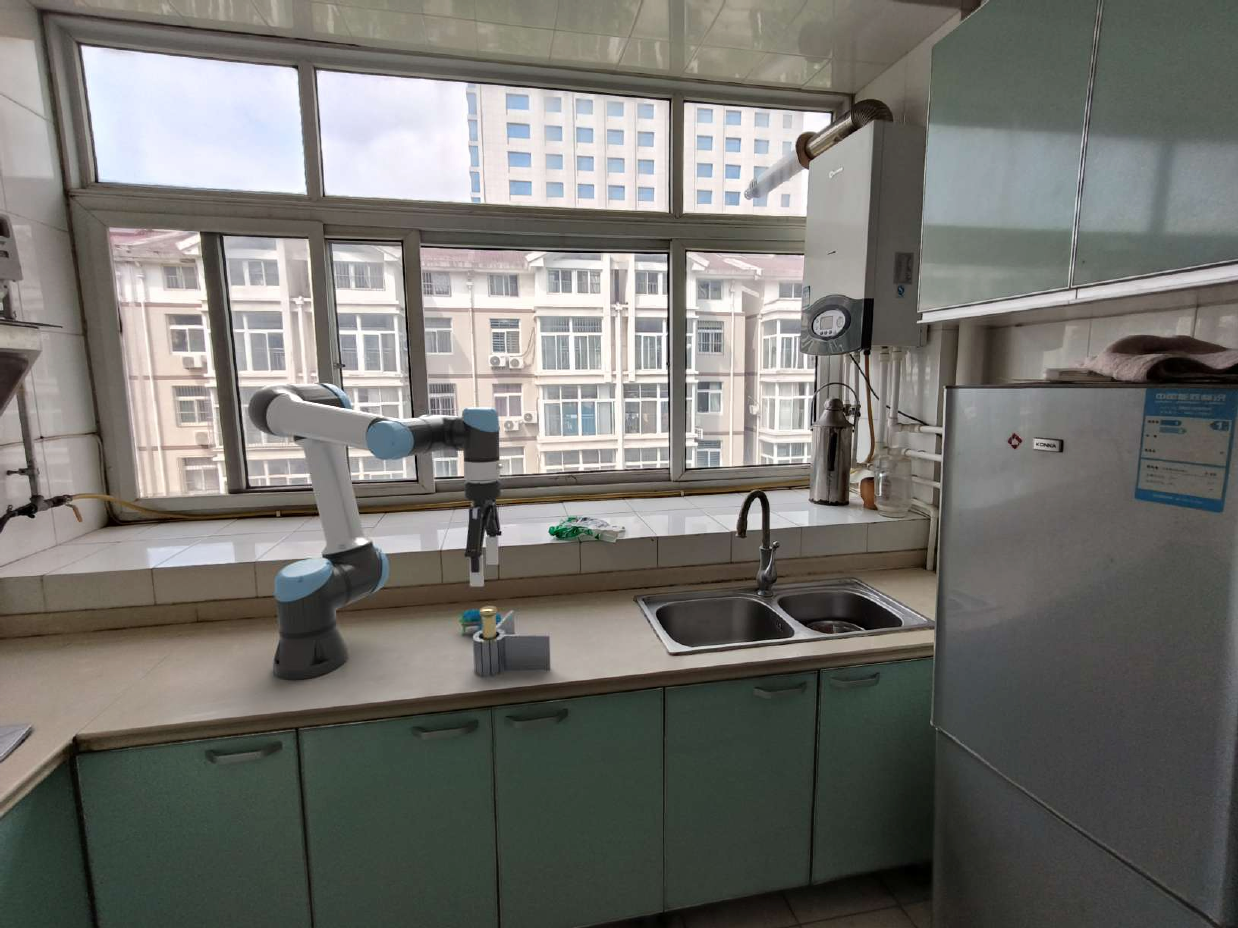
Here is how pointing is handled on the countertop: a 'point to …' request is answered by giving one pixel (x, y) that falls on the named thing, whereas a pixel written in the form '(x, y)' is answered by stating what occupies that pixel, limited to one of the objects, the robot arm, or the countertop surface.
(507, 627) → the hinge leaf swing
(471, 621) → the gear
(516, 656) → the hinge leaf fixed
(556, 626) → the countertop surface
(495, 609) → the pin
